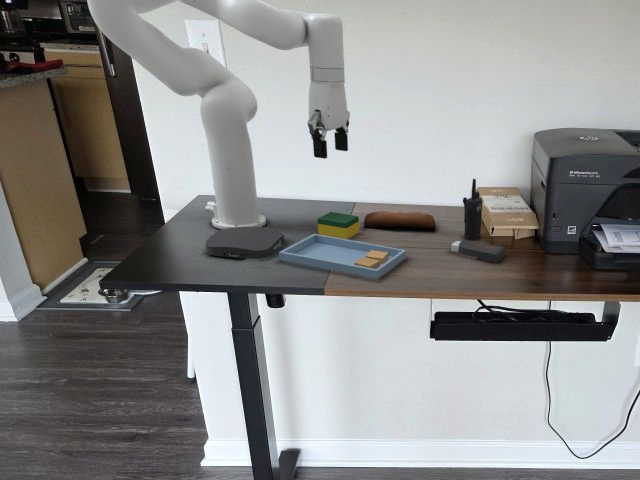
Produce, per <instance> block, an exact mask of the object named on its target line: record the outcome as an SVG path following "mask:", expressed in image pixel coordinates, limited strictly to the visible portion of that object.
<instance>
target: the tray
mask: <svg viewBox="0 0 640 480" xmlns="http://www.w3.org/2000/svg"><path fill="white" fill-rule="evenodd" d="M371 250H373V251H381V252H388V259H387V260H386V261H385V262H384V263H383V264H380V267H379V268H377V269H372V268H367V267H362V266H357V265H354V262H356V261H358V260H360V259H362V258H364V257H365V256H366V255H367V254H368V253H369V252H370V251H371ZM278 255H279V261H282V262H287V263H292V264H297V265H303V266H308V267H314V268H318V269H324V270H328V271H334V272H338V273H339V272H340V273H345V274H350V275H355V276H361V277H366V278H371V279H375V280H378V279H379V278H382V277H383V276H384V275H385V274H386V273H388V272H389V271H391V270H392V269H394V268H395V267H396V266H397V265H399V264H400V263H401V262H403V261H404V260H405V259H407V249H402V248H396V247H391V246H386V245H380V244H374V243H369V242H363V241H357V240H352V239H341V238H336V237H330V236H325V235H319V233H313V234H311V235H309V236H306V237H305V238H303V239H302V240H299V241H298V242H296V243H294V244H292V245H290V246H287V247H286V248H284V249H283V250H282V249H281V250H280V251H279V252H278Z"/></svg>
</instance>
